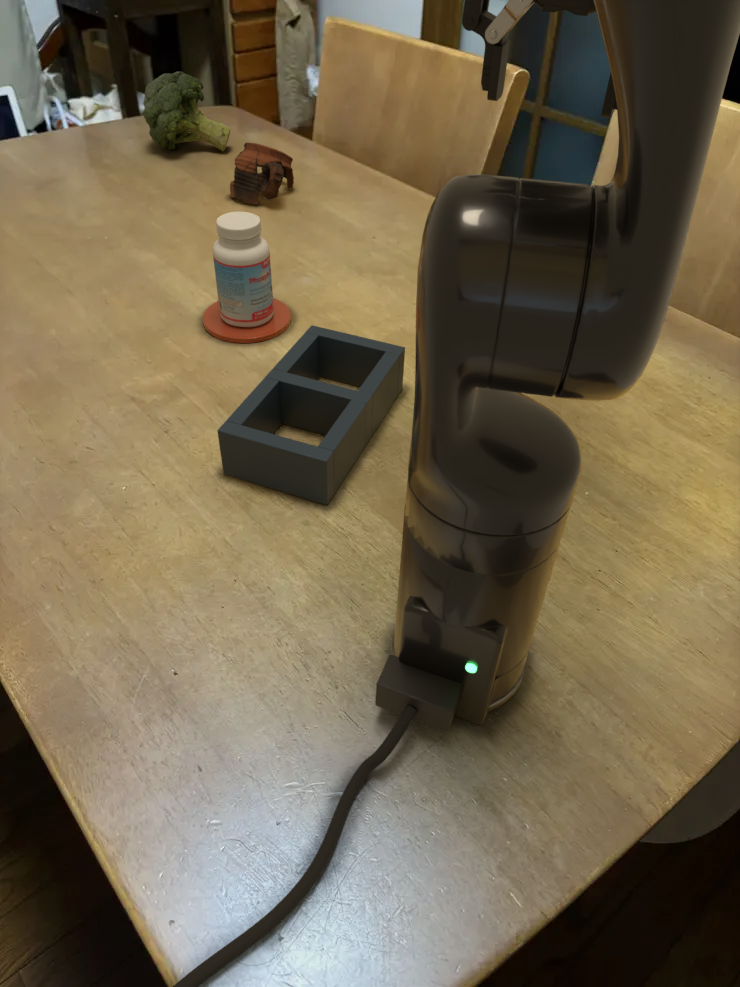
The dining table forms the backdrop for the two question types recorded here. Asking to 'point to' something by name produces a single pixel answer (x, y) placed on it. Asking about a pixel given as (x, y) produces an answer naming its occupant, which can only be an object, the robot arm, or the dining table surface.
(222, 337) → the coaster
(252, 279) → the pill bottle
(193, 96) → the vegetable
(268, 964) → the dining table surface
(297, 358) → the bottle holder
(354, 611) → the dining table surface
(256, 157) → the pottery mug
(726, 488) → the dining table surface
